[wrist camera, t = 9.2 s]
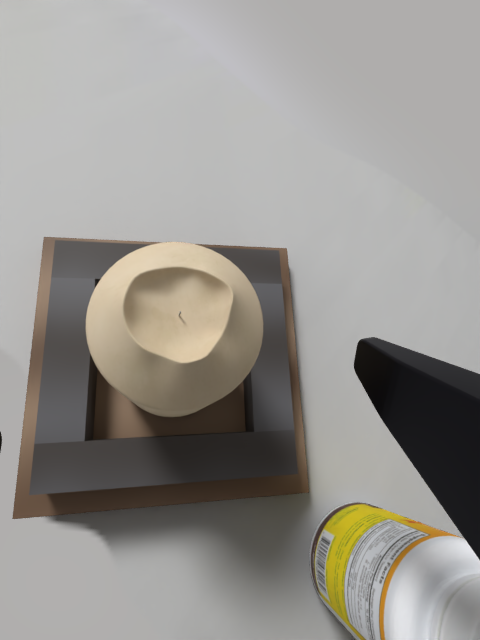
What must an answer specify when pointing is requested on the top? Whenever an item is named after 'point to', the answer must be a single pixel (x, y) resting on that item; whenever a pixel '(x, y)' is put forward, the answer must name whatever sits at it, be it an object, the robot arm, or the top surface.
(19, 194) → the top surface
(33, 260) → the top surface
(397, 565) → the supplement bottle
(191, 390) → the candle
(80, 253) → the socket
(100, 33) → the top surface
